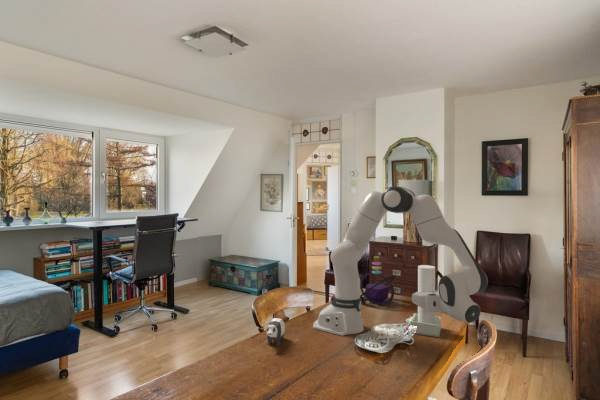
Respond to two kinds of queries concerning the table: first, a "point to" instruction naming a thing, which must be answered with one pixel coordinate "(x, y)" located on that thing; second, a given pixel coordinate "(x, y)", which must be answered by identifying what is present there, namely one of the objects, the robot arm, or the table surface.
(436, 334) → the box
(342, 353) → the table surface
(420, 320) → the cylindrical container
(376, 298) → the decorative bottle
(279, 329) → the giant panda
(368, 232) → the robot arm
